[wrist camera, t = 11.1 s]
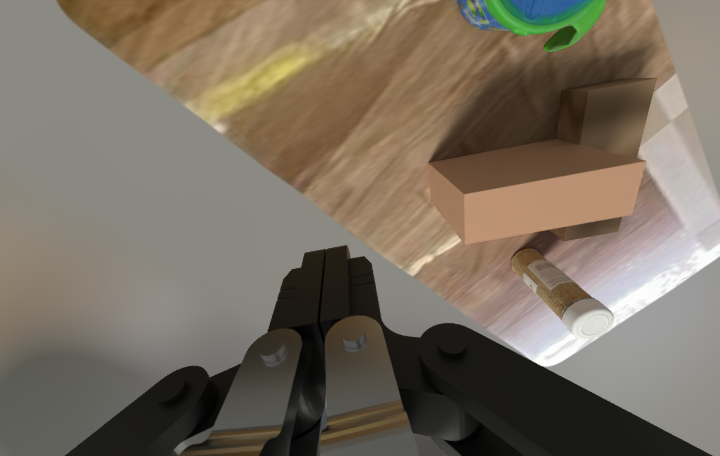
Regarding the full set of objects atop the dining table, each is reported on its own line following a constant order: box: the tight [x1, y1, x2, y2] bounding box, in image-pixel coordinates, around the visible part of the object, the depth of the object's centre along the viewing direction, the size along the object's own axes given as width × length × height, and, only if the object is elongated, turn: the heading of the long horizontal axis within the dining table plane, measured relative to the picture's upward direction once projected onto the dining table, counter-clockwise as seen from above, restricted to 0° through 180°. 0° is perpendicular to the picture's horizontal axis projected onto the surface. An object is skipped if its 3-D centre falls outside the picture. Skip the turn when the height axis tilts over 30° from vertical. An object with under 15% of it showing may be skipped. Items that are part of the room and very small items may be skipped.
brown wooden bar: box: [549, 78, 657, 241], centre depth 36 cm, size 18×7×4 cm, turn 10°
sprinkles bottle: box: [511, 248, 614, 339], centre depth 38 cm, size 5×5×13 cm
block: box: [428, 139, 646, 245], centre depth 32 cm, size 5×16×12 cm, turn 100°
